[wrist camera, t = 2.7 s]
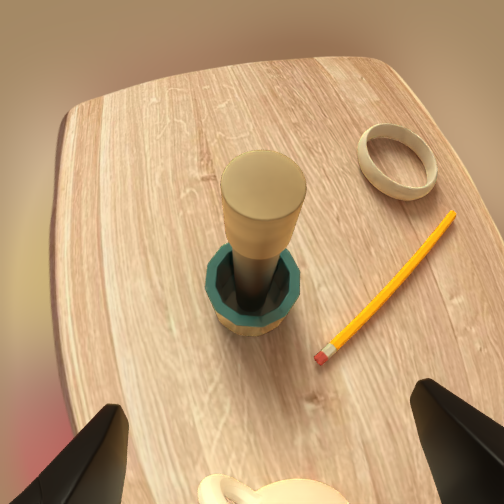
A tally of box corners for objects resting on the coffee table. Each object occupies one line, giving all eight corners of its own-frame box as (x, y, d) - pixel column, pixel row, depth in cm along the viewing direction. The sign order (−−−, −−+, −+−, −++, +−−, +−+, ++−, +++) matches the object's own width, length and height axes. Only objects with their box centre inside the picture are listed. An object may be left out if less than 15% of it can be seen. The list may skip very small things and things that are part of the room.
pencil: (312, 357, 21) (314, 356, 20) (448, 212, 25) (452, 208, 25) (319, 365, 20) (322, 365, 20) (454, 218, 25) (457, 215, 24)
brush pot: (261, 351, 21) (266, 345, 16) (198, 308, 22) (186, 290, 17) (301, 289, 23) (317, 267, 18) (241, 250, 24) (241, 220, 19)
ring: (390, 217, 25) (399, 205, 23) (337, 145, 27) (343, 131, 26) (444, 187, 27) (454, 176, 25) (396, 126, 29) (403, 113, 27)
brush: (255, 322, 21) (277, 237, 8) (226, 302, 22) (202, 191, 9) (275, 293, 22) (321, 175, 9) (246, 274, 22) (252, 137, 9)
